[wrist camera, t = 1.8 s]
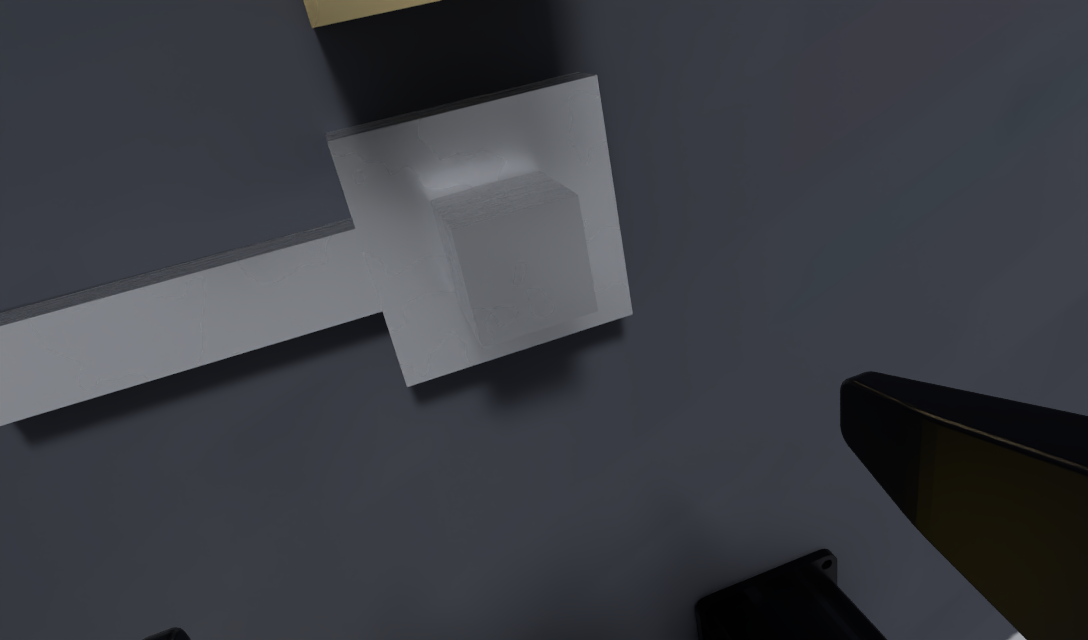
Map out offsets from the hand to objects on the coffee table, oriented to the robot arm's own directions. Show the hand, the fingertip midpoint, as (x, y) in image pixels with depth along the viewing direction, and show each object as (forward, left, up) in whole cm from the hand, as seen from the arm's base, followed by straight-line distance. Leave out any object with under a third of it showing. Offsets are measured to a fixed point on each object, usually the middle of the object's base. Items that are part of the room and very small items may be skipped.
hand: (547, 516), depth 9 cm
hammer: (+3, 0, -12) cm, 13 cm away
